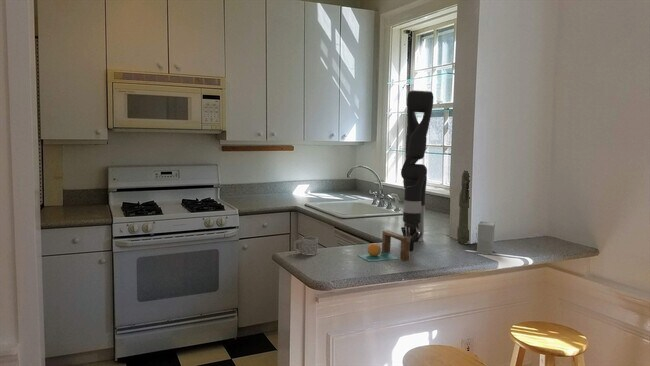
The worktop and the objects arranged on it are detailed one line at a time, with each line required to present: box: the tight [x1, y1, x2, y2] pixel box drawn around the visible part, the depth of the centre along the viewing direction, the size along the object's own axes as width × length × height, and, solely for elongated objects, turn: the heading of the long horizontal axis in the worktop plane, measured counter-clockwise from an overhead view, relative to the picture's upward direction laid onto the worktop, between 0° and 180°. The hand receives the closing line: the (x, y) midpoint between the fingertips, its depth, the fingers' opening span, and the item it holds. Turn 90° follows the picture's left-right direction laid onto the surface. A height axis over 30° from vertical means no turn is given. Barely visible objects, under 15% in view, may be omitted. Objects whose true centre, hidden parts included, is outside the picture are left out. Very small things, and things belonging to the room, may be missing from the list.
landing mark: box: [357, 252, 400, 263], centre depth 209 cm, size 10×14×1 cm
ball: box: [367, 242, 382, 256], centre depth 211 cm, size 6×6×6 cm
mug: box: [293, 236, 319, 255], centre depth 212 cm, size 10×7×7 cm, turn 99°
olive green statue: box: [456, 169, 470, 244], centre depth 241 cm, size 9×12×35 cm
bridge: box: [381, 229, 411, 262], centre depth 212 cm, size 3×17×9 cm, turn 23°
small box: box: [476, 221, 496, 256], centre depth 223 cm, size 8×6×13 cm
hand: (410, 251), depth 215 cm, fingers closed
